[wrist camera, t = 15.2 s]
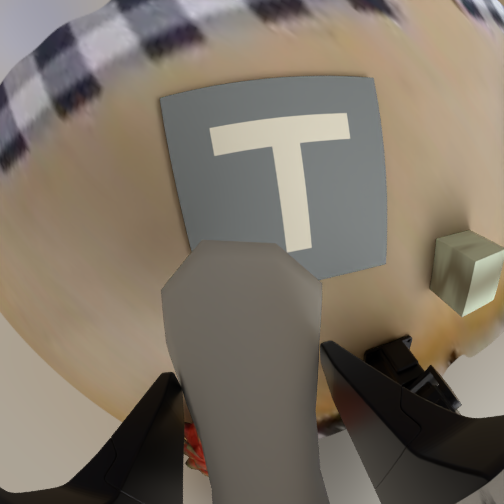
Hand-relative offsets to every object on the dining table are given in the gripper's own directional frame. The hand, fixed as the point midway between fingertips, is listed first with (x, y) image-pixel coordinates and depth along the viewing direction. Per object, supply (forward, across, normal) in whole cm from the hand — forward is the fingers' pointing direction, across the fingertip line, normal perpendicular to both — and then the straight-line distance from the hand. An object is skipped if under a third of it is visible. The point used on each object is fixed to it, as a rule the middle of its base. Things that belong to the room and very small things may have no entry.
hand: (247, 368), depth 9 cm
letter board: (+13, -5, -4) cm, 14 cm away
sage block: (+13, -23, +7) cm, 27 cm away
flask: (+4, 0, 0) cm, 4 cm away
